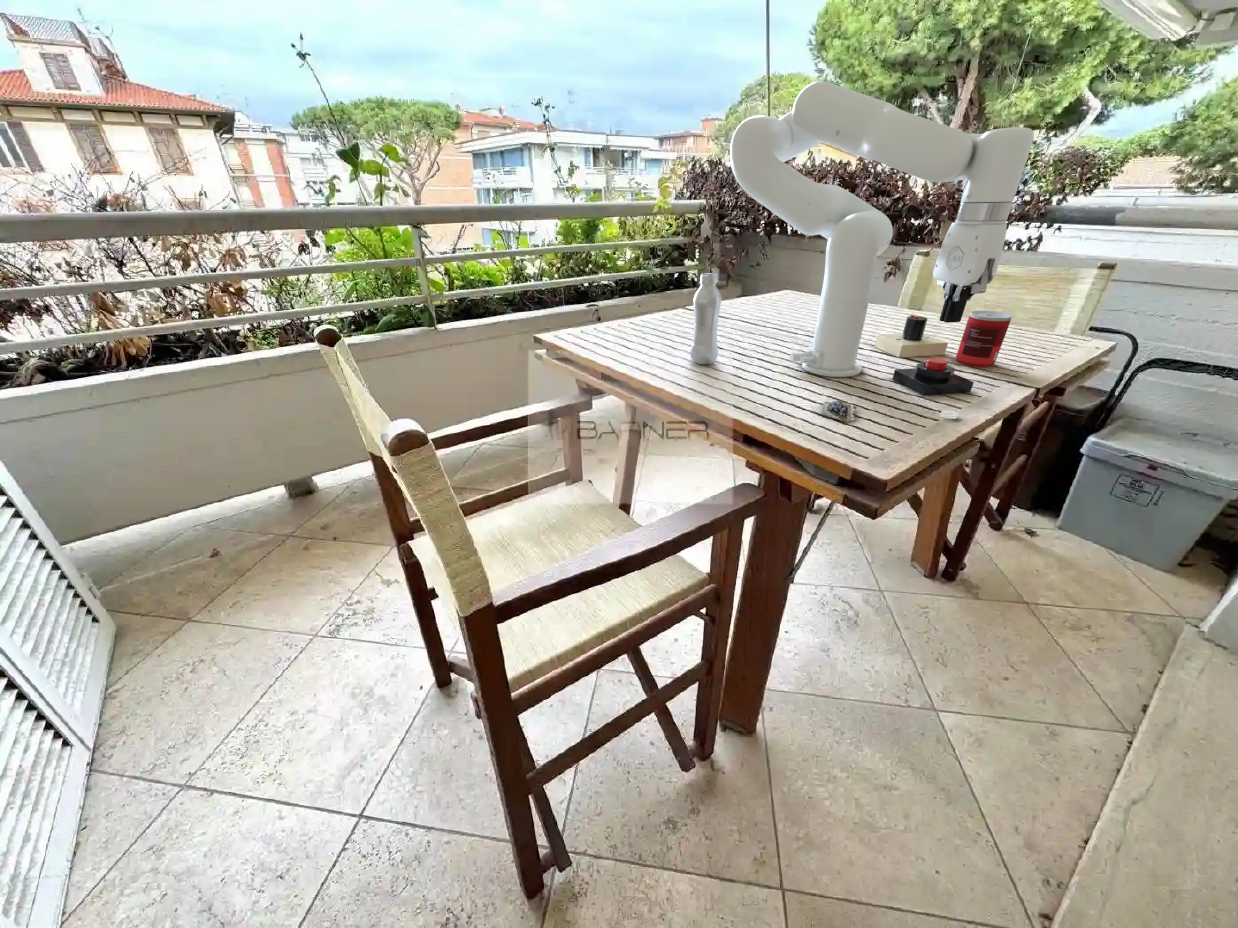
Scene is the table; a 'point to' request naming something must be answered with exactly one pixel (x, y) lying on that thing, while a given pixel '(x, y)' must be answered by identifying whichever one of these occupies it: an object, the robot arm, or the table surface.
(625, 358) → the table surface
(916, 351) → the beige flat block
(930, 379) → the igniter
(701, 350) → the plastic bottle
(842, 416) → the blueberries
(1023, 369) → the table surface
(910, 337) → the knob
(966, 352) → the canned food
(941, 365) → the button
